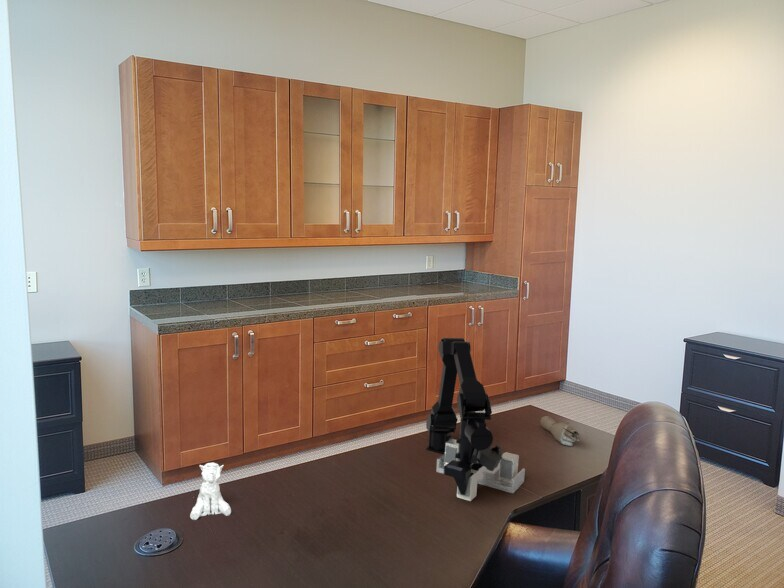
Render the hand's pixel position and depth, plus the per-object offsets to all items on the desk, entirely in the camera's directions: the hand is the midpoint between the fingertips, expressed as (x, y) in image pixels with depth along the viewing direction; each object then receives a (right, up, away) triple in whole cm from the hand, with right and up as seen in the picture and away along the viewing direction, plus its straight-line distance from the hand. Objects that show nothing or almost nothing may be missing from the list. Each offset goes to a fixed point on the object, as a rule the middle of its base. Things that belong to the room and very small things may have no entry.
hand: (466, 491), depth 164 cm
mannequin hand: (+38, +2, +46) cm, 60 cm away
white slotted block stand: (+5, 0, +13) cm, 14 cm away
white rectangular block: (0, -2, 0) cm, 2 cm away
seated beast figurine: (-65, -1, -14) cm, 66 cm away
